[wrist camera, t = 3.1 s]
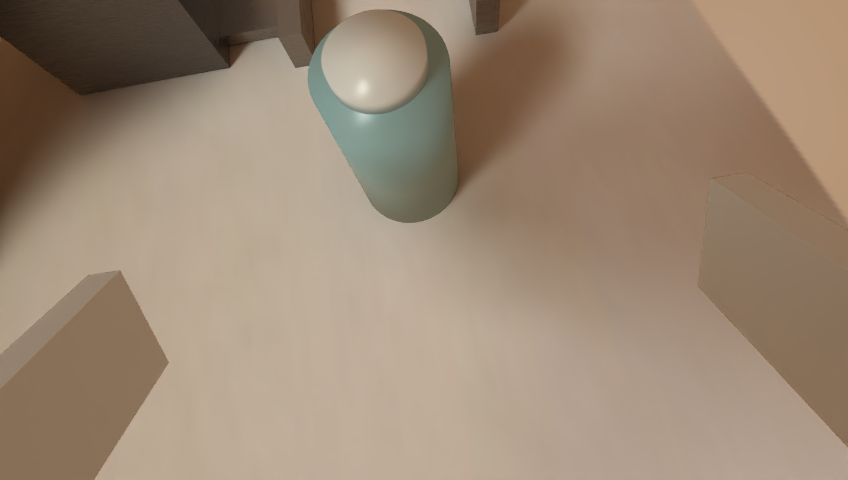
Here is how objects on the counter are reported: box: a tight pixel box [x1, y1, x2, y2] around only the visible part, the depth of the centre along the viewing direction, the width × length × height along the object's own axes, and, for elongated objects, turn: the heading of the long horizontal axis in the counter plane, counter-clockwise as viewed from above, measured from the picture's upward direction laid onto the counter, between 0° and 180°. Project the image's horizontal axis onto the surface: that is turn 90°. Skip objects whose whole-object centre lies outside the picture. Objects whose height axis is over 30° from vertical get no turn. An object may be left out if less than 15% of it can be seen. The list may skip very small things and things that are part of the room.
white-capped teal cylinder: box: [308, 10, 459, 223], centre depth 20 cm, size 5×5×10 cm
